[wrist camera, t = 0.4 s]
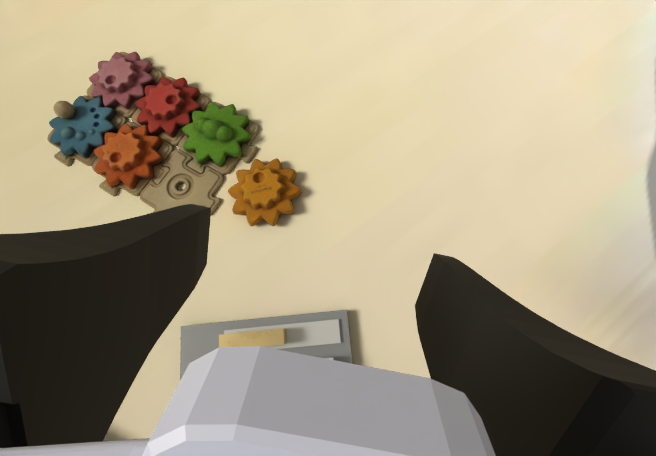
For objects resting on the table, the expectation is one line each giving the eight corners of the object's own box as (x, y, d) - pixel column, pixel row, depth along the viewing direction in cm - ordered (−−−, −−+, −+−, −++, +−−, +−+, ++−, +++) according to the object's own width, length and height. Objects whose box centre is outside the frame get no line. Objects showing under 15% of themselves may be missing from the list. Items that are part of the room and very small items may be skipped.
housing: (363, 468, 34) (366, 496, 28) (183, 483, 34) (150, 515, 28) (346, 310, 37) (346, 306, 31) (185, 326, 38) (155, 325, 32)
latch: (287, 343, 35) (284, 344, 34) (225, 349, 36) (219, 350, 34) (286, 328, 36) (283, 328, 34) (225, 334, 36) (218, 334, 34)
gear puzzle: (330, 162, 42) (328, 145, 38) (250, 284, 39) (239, 279, 35) (125, 51, 48) (105, 26, 44) (40, 149, 45) (11, 132, 41)
